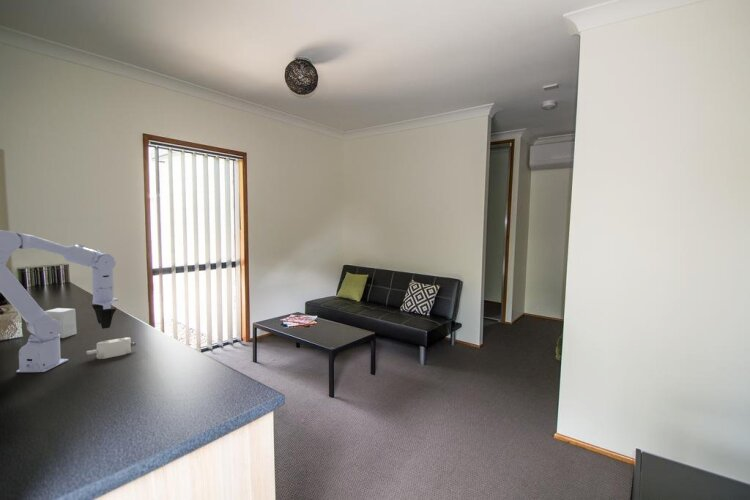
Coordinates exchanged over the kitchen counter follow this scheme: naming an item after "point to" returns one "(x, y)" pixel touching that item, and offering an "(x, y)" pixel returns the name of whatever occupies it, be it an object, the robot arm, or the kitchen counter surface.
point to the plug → (113, 348)
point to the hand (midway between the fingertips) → (104, 325)
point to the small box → (64, 320)
